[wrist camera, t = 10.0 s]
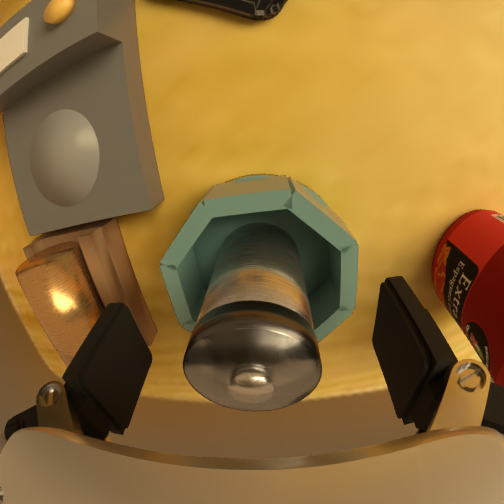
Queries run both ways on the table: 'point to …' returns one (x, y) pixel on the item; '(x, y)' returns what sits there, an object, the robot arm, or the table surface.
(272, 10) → the phone
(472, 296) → the canned food
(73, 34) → the checker
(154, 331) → the walnut trough
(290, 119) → the table surface
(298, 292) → the grey cell
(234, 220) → the teal cup
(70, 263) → the copper cell
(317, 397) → the table surface
